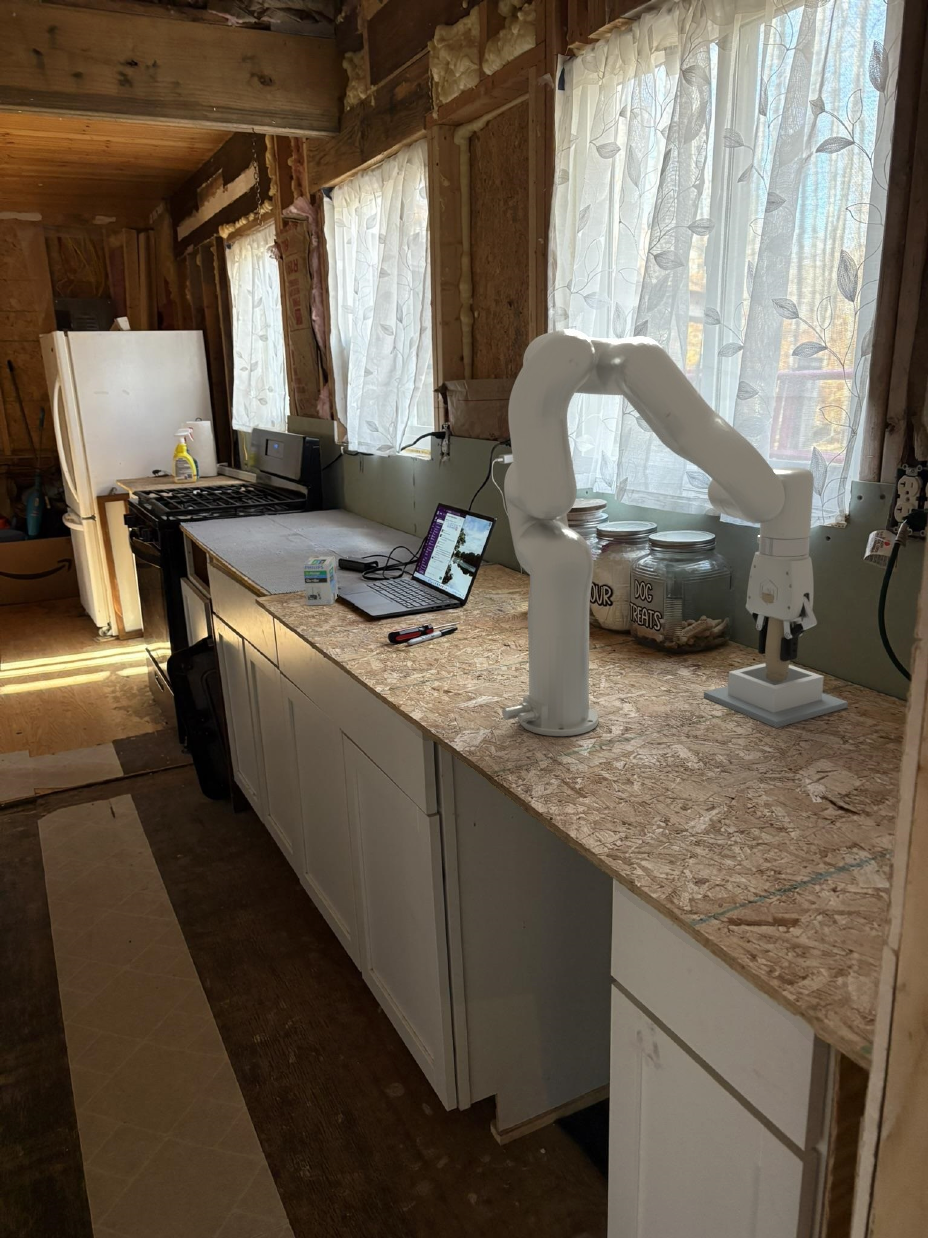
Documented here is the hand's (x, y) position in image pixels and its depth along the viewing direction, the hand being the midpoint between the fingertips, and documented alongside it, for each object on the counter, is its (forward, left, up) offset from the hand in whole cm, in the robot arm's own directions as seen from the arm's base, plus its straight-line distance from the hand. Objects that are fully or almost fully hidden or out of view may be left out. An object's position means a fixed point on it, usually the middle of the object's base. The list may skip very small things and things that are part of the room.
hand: (777, 655), depth 144 cm
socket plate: (0, 0, -8) cm, 8 cm away
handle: (0, 0, -4) cm, 4 cm away
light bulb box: (-40, +113, -9) cm, 120 cm away
